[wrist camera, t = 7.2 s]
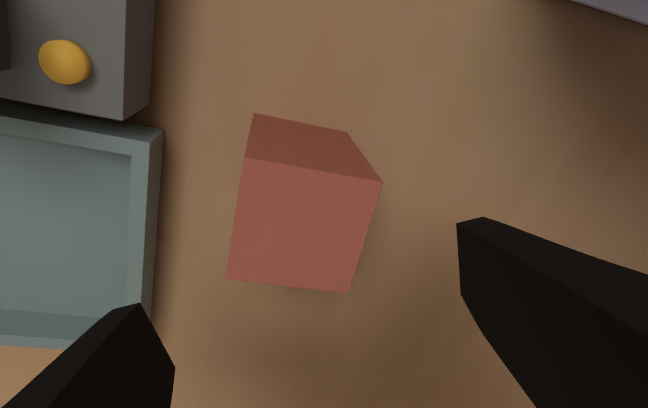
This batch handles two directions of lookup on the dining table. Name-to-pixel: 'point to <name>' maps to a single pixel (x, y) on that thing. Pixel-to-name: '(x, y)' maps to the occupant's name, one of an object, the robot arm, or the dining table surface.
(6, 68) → the switch
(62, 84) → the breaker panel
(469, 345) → the dining table surface
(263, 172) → the block
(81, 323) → the tray
